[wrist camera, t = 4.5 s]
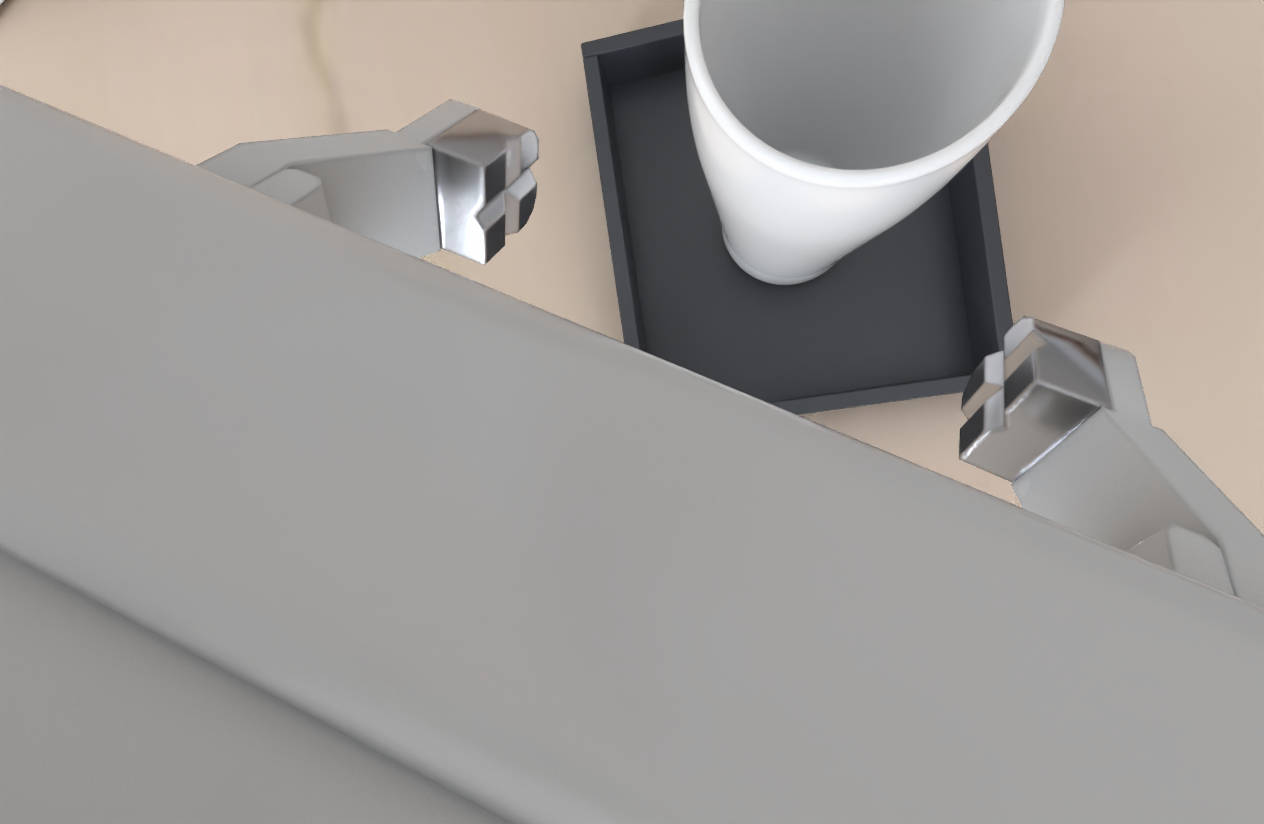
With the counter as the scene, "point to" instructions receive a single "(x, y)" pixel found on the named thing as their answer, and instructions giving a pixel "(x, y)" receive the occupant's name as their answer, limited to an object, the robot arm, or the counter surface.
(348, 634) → the robot arm
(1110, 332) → the counter surface
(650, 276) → the baking tray
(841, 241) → the white tall cup
